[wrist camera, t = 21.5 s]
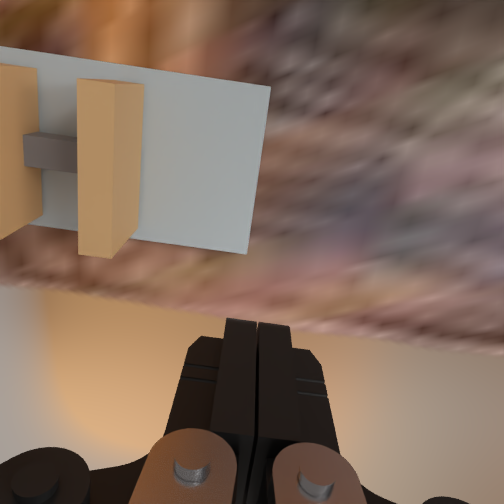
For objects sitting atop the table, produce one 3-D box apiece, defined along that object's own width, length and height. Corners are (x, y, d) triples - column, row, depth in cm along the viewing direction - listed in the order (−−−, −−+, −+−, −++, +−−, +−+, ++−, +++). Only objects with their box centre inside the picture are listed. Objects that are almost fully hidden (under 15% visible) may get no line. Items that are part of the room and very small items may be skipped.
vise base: (-173, 20, 29) (-313, -2, 22) (270, 86, 30) (273, 87, 23) (-138, 194, 33) (-246, 223, 26) (247, 247, 34) (243, 289, 27)
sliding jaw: (-10, 61, 28) (-79, 55, 22) (144, 84, 28) (114, 83, 22) (1, 209, 31) (-56, 236, 26) (137, 228, 32) (111, 258, 26)
